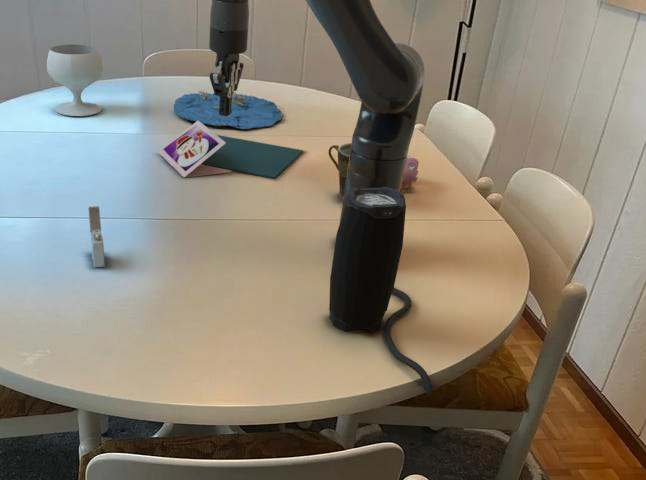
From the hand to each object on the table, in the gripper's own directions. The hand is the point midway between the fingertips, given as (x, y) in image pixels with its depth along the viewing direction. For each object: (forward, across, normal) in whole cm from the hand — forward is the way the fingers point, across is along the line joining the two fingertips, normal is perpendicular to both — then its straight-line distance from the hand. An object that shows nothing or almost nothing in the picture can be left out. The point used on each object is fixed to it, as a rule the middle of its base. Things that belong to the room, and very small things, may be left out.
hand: (224, 114), depth 149 cm
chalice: (+12, -21, -50) cm, 55 cm away
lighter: (+12, +49, -2) cm, 51 cm away
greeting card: (+11, +5, -1) cm, 12 cm away
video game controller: (+12, -10, +37) cm, 40 cm away
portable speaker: (+12, +50, +42) cm, 66 cm away
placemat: (+12, -10, 0) cm, 15 cm away
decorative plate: (+12, -40, -14) cm, 44 cm away
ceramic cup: (+12, +2, +29) cm, 32 cm away
